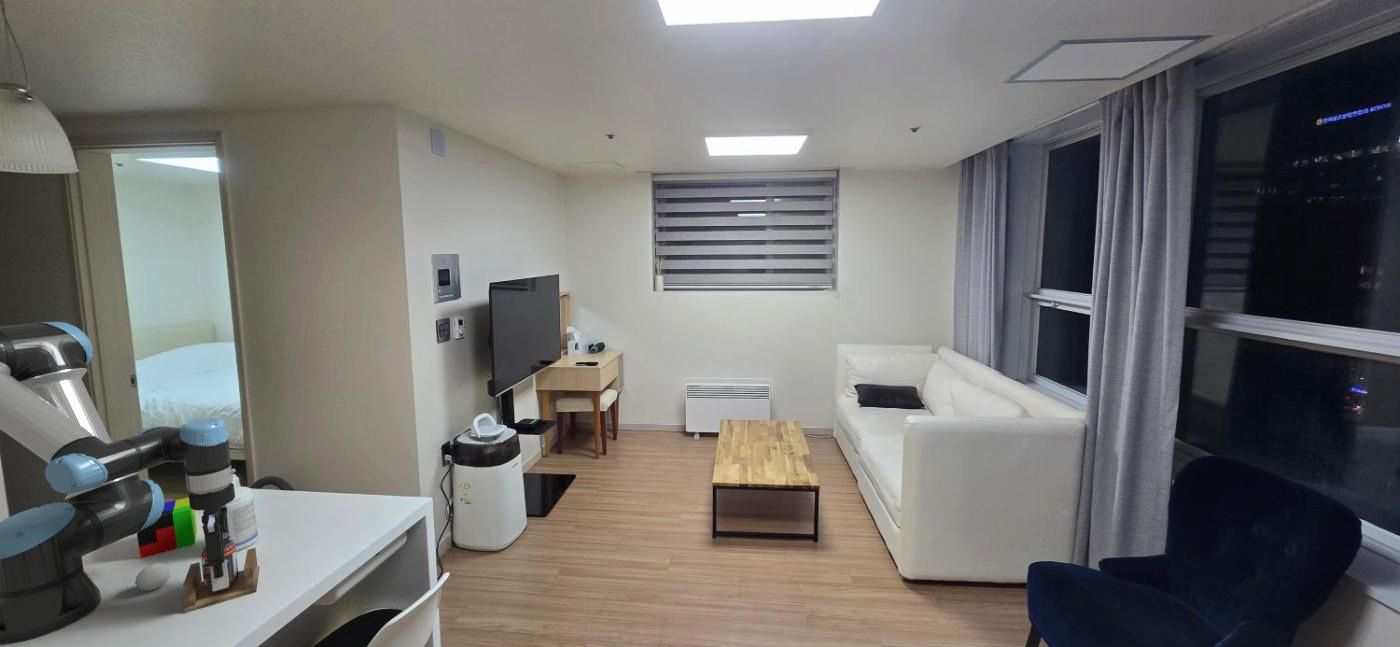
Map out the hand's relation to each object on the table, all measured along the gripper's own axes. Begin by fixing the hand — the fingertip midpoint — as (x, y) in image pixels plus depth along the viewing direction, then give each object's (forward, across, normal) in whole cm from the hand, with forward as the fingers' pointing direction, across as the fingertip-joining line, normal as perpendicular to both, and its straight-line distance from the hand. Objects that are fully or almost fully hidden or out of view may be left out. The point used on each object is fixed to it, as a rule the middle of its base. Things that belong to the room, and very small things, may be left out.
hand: (223, 581), depth 120 cm
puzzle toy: (+2, +35, +14) cm, 38 cm away
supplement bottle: (0, 0, 0) cm, 1 cm away
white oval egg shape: (+2, +11, +14) cm, 18 cm away
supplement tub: (+2, +23, 0) cm, 23 cm away
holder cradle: (+2, 0, 0) cm, 2 cm away
